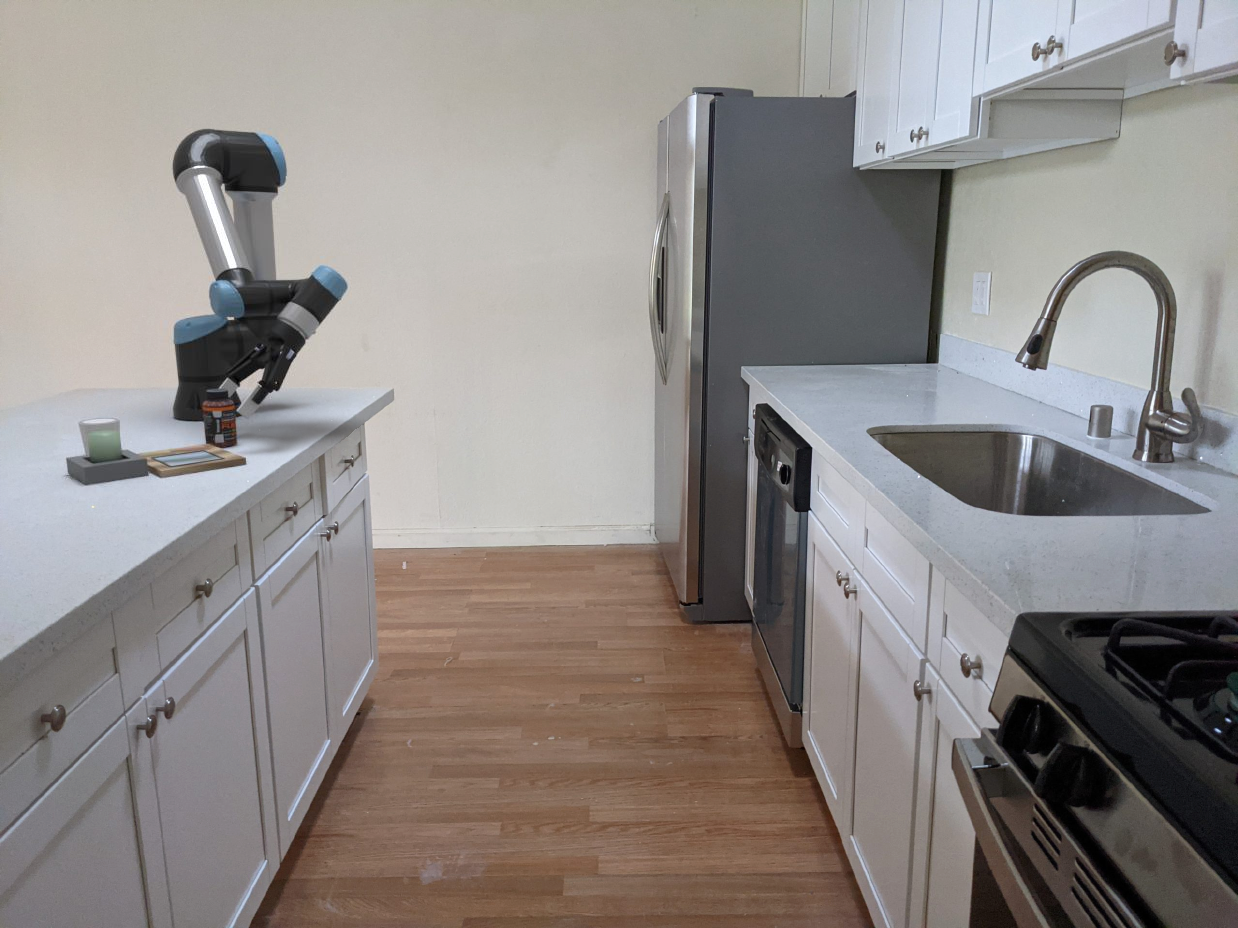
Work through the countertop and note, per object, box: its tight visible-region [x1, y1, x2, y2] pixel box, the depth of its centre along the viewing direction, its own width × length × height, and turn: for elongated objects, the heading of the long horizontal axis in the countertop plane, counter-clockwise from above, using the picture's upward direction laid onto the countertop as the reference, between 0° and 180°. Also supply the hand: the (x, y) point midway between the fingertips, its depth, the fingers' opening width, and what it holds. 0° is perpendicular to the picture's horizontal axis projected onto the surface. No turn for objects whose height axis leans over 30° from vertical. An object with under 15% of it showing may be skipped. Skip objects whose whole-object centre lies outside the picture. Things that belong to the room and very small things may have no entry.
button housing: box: [65, 449, 149, 486], centre depth 162 cm, size 10×10×3 cm
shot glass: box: [77, 417, 121, 455], centre depth 176 cm, size 7×7×7 cm
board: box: [137, 443, 247, 478], centre depth 172 cm, size 17×15×1 cm
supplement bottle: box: [203, 389, 238, 448], centre depth 186 cm, size 6×6×11 cm
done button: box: [87, 430, 123, 464], centre depth 161 cm, size 5×5×5 cm
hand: (227, 411), depth 184 cm, fingers open, 13 cm apart
